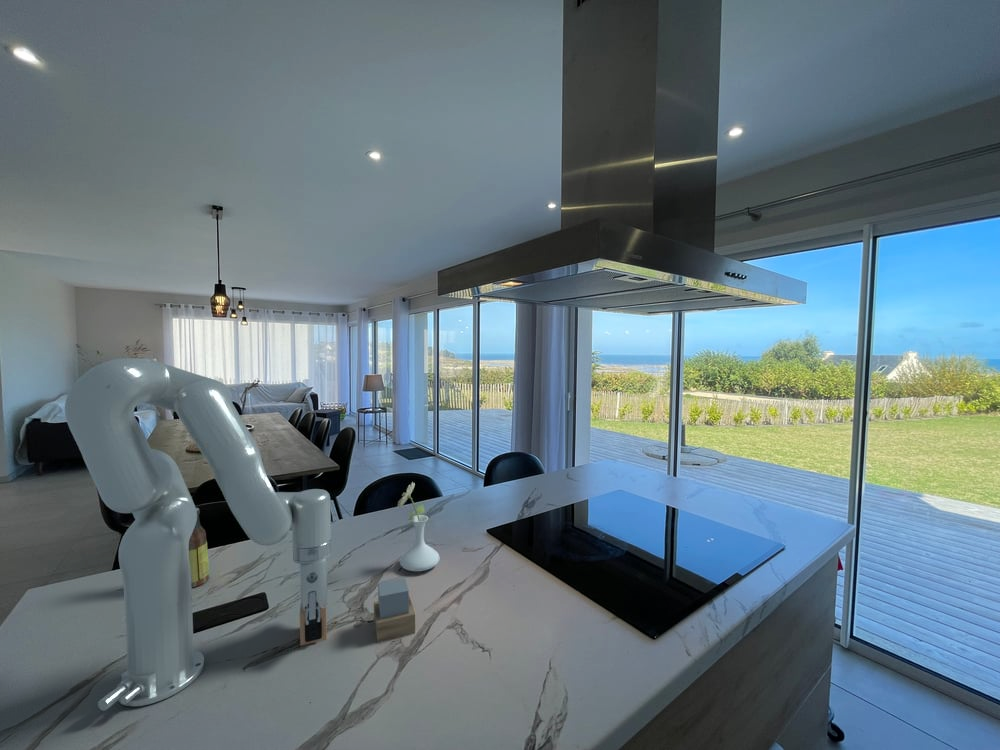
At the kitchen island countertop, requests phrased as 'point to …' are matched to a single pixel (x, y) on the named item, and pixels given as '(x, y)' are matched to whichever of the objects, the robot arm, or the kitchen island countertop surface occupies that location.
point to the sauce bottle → (198, 555)
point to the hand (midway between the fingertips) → (313, 630)
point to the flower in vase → (418, 540)
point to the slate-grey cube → (393, 597)
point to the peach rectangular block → (302, 625)
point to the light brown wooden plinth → (394, 624)
